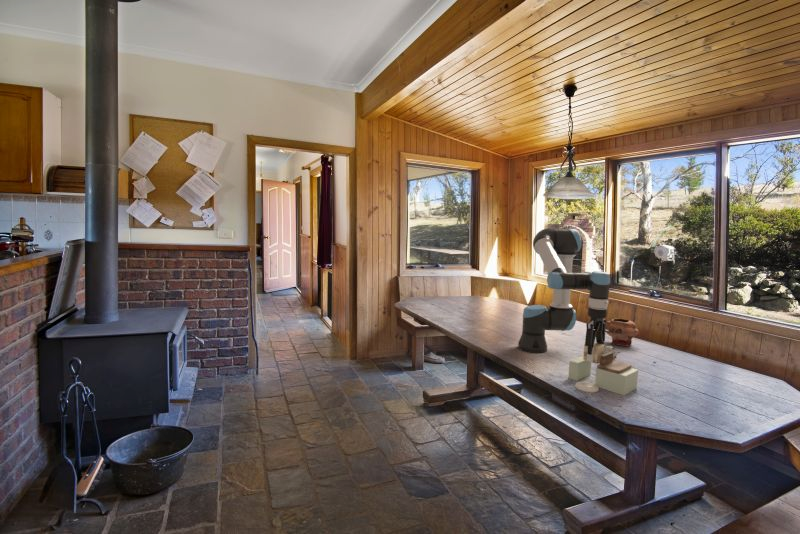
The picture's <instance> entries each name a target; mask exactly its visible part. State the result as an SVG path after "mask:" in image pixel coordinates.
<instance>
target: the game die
mask: <svg viewBox="0 0 800 534" xmlns="http://www.w3.org/2000/svg"><path fill="white" fill-rule="evenodd" d="M608 352H614V354H613V360H614V361H616V359H617V356H618V354H619V353H620V351H617V350H616V349H615V347H614V346H613V343H611V344H610V345H605V346H604V354H606V353H608Z"/></svg>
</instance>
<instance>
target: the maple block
mask: <svg viewBox="0 0 800 534" xmlns="http://www.w3.org/2000/svg"><path fill="white" fill-rule="evenodd" d="M604 346H606V345H605V344H598V343H596V342H594V347H595V348H594V360H593V362H592V363H593V364H597V365H598V364H600V357H601V355H603V354H604ZM583 347H584V348H583V355H582V356H583V360H587V348H588V346H585V343H584V346H583Z"/></svg>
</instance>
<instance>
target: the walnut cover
mask: <svg viewBox="0 0 800 534" xmlns="http://www.w3.org/2000/svg"><path fill="white" fill-rule="evenodd" d="M613 354H614V352H608V353H606V354H603V355H601V357H600V362H599V363H598V364H597V365H596V368H601V369H604V370H608V371H612V372H615V373H621V372H623V371H625V370H627V369H629V368H632V364H628V363H624V362H621V361H617V360H615V361H614V360H613Z"/></svg>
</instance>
